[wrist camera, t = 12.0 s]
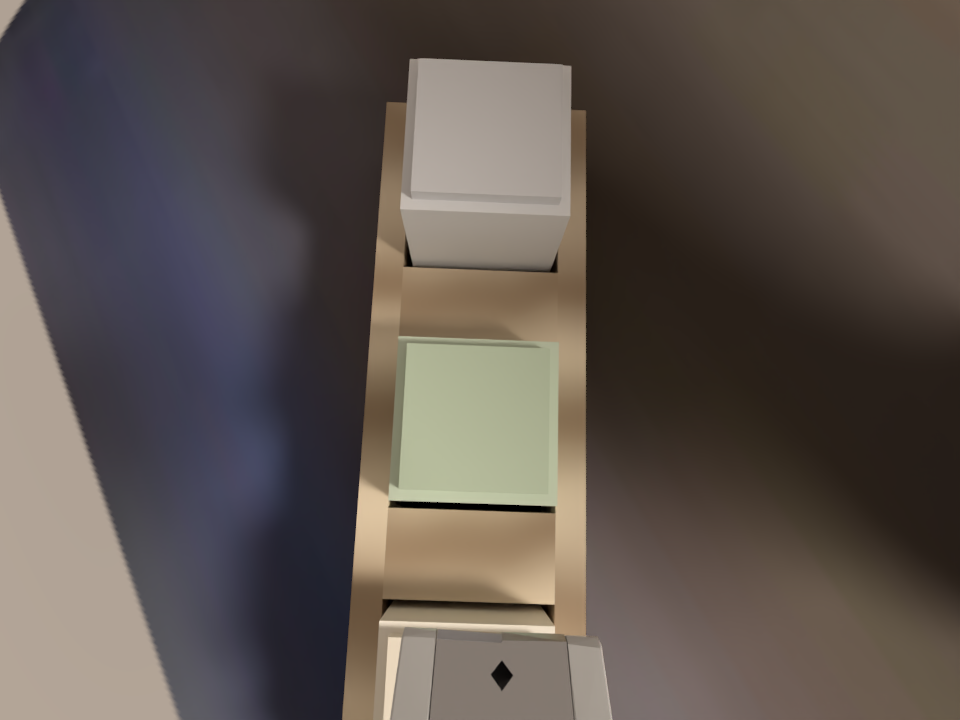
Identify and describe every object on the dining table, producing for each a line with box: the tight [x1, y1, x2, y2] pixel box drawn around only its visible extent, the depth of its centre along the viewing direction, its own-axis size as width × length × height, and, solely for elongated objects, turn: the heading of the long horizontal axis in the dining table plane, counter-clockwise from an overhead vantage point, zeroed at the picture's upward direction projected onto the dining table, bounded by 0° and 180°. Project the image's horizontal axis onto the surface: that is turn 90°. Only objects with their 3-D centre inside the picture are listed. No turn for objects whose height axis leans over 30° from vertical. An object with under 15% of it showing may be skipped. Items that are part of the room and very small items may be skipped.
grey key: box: [400, 58, 571, 273], centre depth 26 cm, size 6×6×7 cm
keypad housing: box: [342, 102, 586, 720], centre depth 29 cm, size 29×9×5 cm, turn 178°
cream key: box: [373, 599, 555, 720], centre depth 24 cm, size 6×6×7 cm
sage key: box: [388, 336, 559, 506], centre depth 26 cm, size 6×6×7 cm
